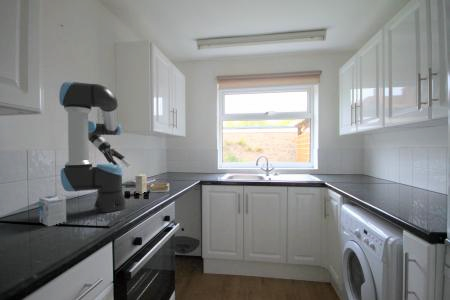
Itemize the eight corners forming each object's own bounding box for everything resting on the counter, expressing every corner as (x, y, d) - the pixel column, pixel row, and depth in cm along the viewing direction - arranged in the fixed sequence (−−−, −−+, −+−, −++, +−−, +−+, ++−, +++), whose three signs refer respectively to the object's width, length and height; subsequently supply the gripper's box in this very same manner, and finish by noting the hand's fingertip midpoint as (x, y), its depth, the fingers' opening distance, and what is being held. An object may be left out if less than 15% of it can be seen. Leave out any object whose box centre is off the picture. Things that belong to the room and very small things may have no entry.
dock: (168, 191, 165) (167, 185, 165) (149, 192, 163) (149, 186, 163) (169, 188, 177) (169, 183, 177) (152, 189, 175) (152, 183, 175)
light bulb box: (39, 222, 101) (38, 197, 101) (57, 218, 107) (56, 194, 106) (48, 226, 95) (48, 200, 95) (67, 222, 101) (66, 197, 100)
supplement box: (140, 192, 164) (139, 174, 164) (147, 192, 164) (146, 173, 163) (135, 195, 156) (135, 175, 155) (142, 195, 155) (142, 175, 155)
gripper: (107, 148, 172) (128, 168, 172) (87, 149, 147) (112, 172, 147) (114, 141, 172) (135, 161, 172) (96, 141, 147) (120, 164, 147)
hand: (124, 166), depth 160 cm, fingers open, 13 cm apart
